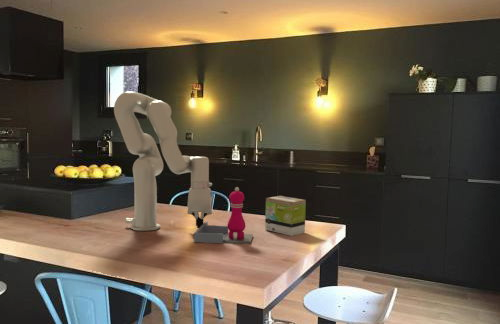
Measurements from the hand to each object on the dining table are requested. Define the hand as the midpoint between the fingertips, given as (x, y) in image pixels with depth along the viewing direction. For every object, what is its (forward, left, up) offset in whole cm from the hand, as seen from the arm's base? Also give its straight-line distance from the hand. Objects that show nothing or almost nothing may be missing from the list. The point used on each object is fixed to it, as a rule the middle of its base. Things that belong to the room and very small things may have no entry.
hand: (199, 227), depth 193 cm
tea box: (+37, +6, -2) cm, 37 cm away
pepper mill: (+17, -12, -1) cm, 21 cm away
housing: (+7, -9, -1) cm, 12 cm away
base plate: (+18, -12, -2) cm, 22 cm away
